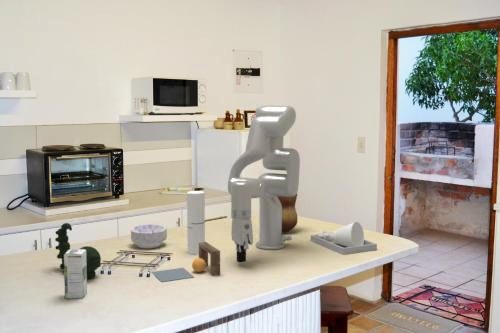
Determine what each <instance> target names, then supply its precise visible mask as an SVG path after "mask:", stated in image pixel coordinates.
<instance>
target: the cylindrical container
mask: <svg viewBox="0 0 500 333" xmlns="http://www.w3.org/2000/svg"><path fill="white" fill-rule="evenodd" d="M205 199H206V198H205V191H202V190H190V191H187V192H186V207H187V208H186V217H187V218H186V221H187V223H186V224H187V225H186V226H187V230H186V231H187V233H186V234H187V235H186V236H187V253H188V254H190V255H199V243H201V242H206V231H205V228H206V226H205V224H206V223H205V222H206V216H205V215H206V214H205V211H206V210H205V208H206V207H205Z"/></svg>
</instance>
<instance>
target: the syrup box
mask: <svg viewBox="0 0 500 333" xmlns="http://www.w3.org/2000/svg"><path fill="white" fill-rule="evenodd" d="M63 271H64V272H63V273H64V274H63V275H64V276H63V278H64V299H67V300H68V299H84V297H85V295H87V292H88V286H87V285H88V281H87V280H88V279H87V263H86V250H84V249H80V248H70V250H68V251H67V252H66V253H65V254H64V269H63Z"/></svg>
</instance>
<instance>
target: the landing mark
mask: <svg viewBox="0 0 500 333" xmlns="http://www.w3.org/2000/svg"><path fill="white" fill-rule="evenodd" d="M151 274H153V275H154V277H155V278H157V280H158V281H160V283H166V282H172V281H179V280H186V279H192V278H193V279H194V278H195V276H194V275H193V274H192V273H190V272H189V271H188V269H186V268H184V267H179V268H172V269H170V268H169V269H164V270H156V271H151Z"/></svg>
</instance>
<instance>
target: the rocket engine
mask: <svg viewBox="0 0 500 333" xmlns="http://www.w3.org/2000/svg"><path fill="white" fill-rule="evenodd" d="M328 233H329V234H328ZM331 233H332V234H331ZM320 234H321V235H318V237H324V240H326V241H328V242H331V243H334V244H336V245H338V246H340V245H341V246H342V247H343V246H344V247H345V248H346V247H353V246H361V245H363V244H364V240H365V233H364V228H363V226H362V225H361V223H359V221H354V222H352V223H349V224H346V225H344V226H342V227H340V228H338V229H336V230H335V231H333V232H330V231H327V230H326V229H324V230H322V233H320Z"/></svg>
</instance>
